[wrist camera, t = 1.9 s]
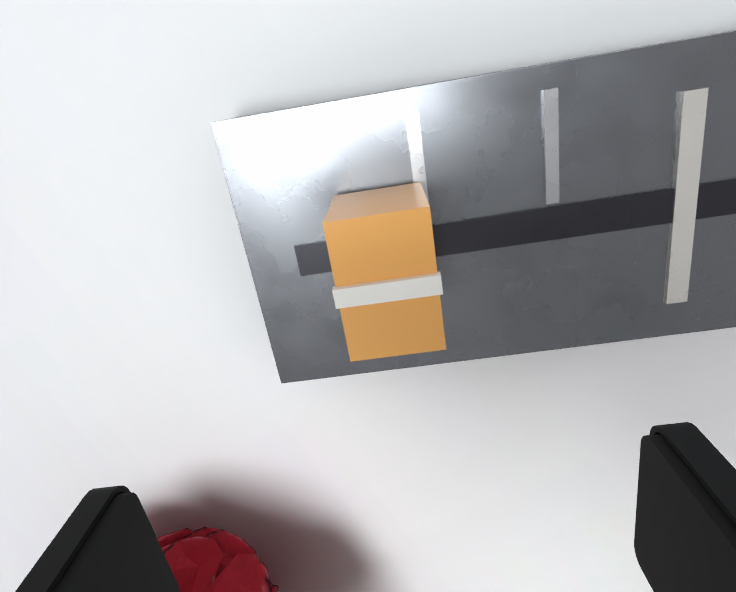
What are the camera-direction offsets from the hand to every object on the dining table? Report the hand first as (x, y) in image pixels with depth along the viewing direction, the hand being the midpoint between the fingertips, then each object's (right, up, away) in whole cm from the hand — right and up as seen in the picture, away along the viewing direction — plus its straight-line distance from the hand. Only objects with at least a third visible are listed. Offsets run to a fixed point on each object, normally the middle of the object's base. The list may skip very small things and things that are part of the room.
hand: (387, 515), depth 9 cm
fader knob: (+1, +6, +15) cm, 16 cm away
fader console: (+9, +9, +18) cm, 22 cm away
